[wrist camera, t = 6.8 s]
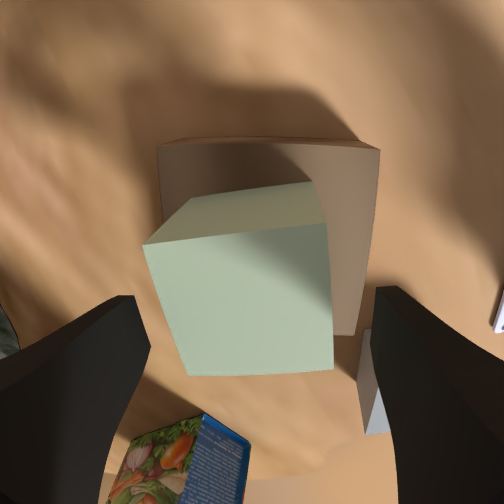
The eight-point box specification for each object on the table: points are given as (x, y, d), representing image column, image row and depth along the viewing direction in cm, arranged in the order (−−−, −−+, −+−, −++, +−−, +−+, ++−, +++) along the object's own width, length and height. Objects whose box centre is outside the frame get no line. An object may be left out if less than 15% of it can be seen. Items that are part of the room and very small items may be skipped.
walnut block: (359, 140, 15) (380, 149, 12) (343, 293, 19) (354, 335, 15) (185, 137, 16) (156, 146, 12) (196, 287, 20) (177, 326, 16)
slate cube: (432, 321, 19) (459, 372, 14) (417, 373, 21) (435, 423, 16) (363, 328, 19) (378, 384, 15) (356, 381, 21) (365, 435, 17)
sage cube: (312, 181, 12) (326, 222, 8) (323, 290, 14) (333, 368, 10) (191, 198, 13) (141, 245, 9) (215, 300, 15) (188, 375, 11)
